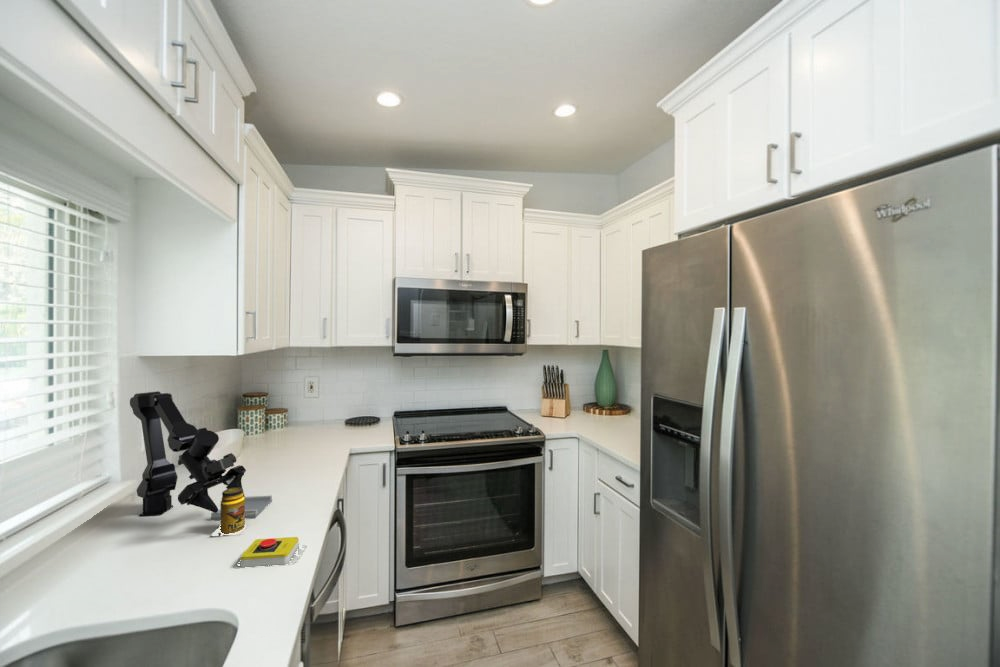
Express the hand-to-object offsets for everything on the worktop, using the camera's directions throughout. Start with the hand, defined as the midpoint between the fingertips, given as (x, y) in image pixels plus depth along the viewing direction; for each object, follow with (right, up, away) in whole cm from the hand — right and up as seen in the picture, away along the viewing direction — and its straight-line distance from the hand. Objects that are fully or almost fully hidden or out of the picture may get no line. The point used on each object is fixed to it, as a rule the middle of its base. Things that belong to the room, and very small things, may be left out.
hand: (230, 505), depth 122 cm
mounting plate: (-5, -7, +14) cm, 16 cm away
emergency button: (+20, -8, -14) cm, 26 cm away
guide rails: (-5, -6, +14) cm, 16 cm away
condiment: (0, -8, 0) cm, 8 cm away
